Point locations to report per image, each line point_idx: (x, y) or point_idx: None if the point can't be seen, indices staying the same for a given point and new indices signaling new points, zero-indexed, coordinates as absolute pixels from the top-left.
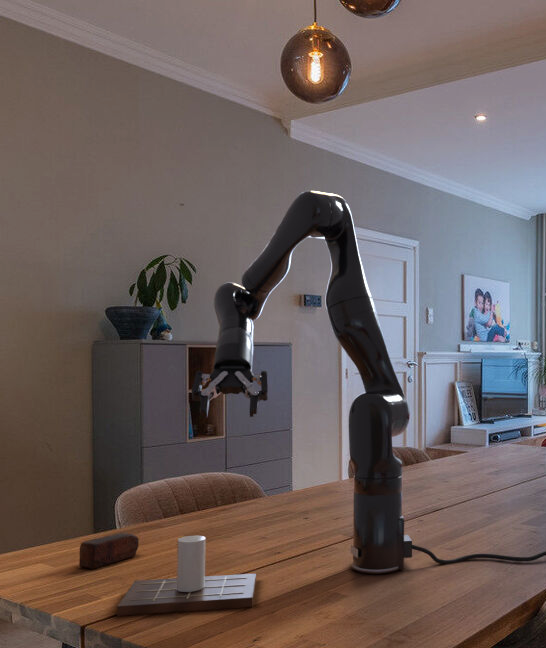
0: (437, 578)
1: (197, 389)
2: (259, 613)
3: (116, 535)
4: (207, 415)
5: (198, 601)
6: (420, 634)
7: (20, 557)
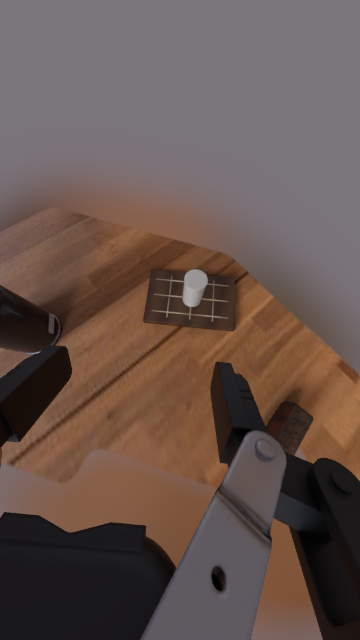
0: None
1: (332, 494)
2: (149, 262)
3: (286, 446)
4: (211, 391)
5: (185, 273)
6: (73, 213)
7: None
